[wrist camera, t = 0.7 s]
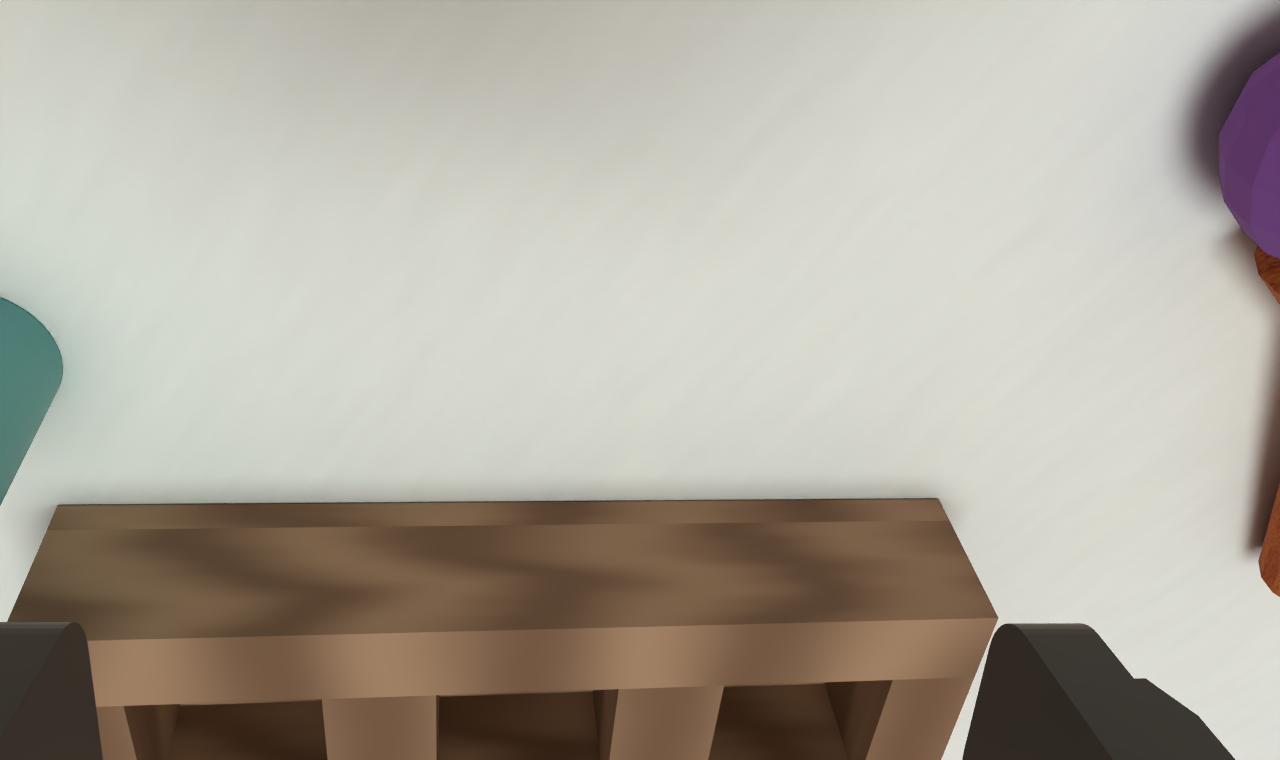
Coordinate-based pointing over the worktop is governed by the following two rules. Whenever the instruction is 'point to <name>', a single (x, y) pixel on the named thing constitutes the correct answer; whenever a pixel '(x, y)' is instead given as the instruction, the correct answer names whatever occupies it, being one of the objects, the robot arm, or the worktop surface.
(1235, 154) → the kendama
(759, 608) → the bore block
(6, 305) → the pin
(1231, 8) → the worktop surface
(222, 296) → the worktop surface
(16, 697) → the robot arm
